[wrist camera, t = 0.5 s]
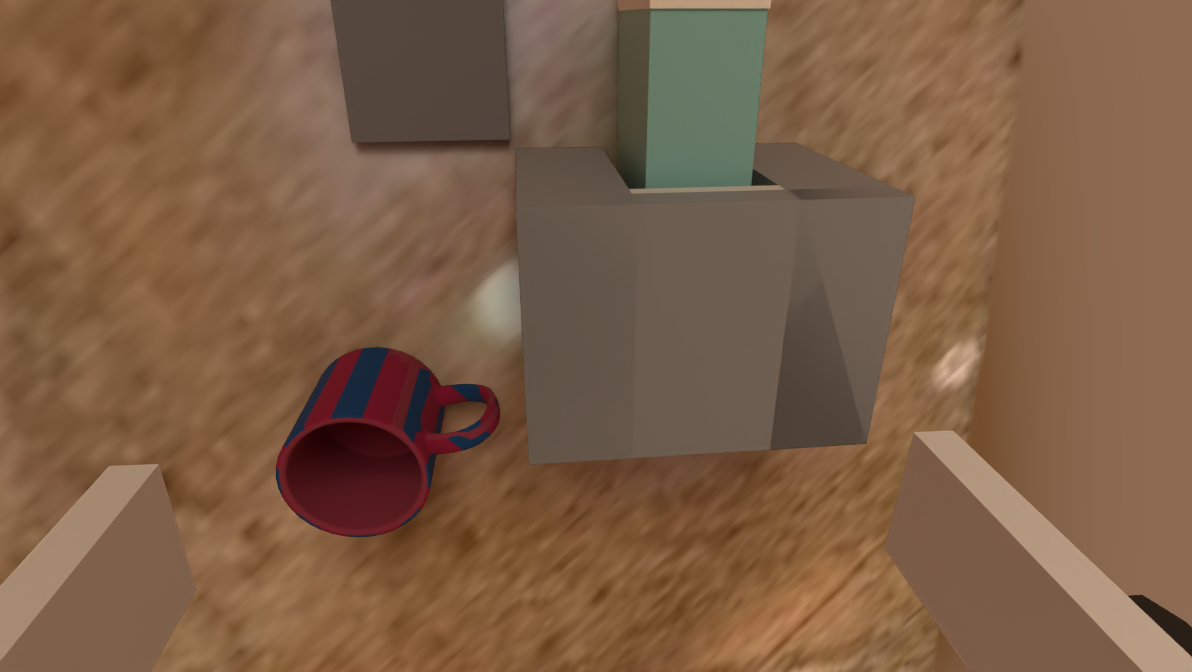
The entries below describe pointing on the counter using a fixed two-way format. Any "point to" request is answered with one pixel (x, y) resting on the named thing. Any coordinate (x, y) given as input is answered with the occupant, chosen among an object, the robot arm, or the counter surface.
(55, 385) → the counter surface
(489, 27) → the pad
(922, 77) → the counter surface
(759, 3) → the banded gift box
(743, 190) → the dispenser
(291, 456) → the mug
